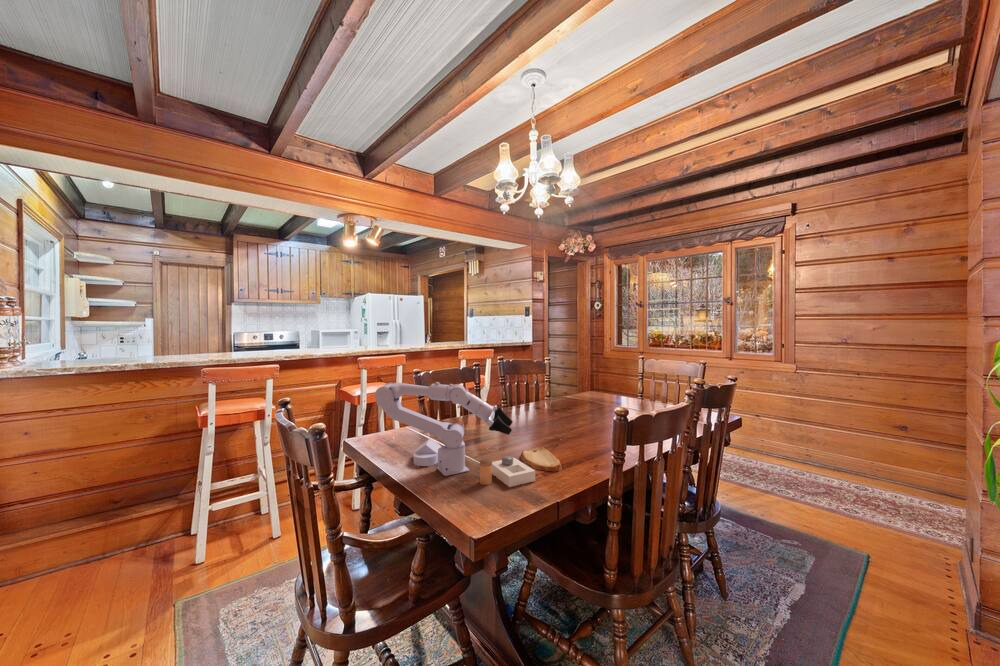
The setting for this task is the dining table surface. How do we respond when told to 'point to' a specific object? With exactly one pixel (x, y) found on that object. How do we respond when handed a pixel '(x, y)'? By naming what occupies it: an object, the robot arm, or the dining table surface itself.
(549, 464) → the bread slice
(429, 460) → the wedge on round base
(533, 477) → the cream block with recess
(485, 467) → the orange tapered cylinder
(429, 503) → the dining table surface
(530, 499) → the dining table surface
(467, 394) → the robot arm
